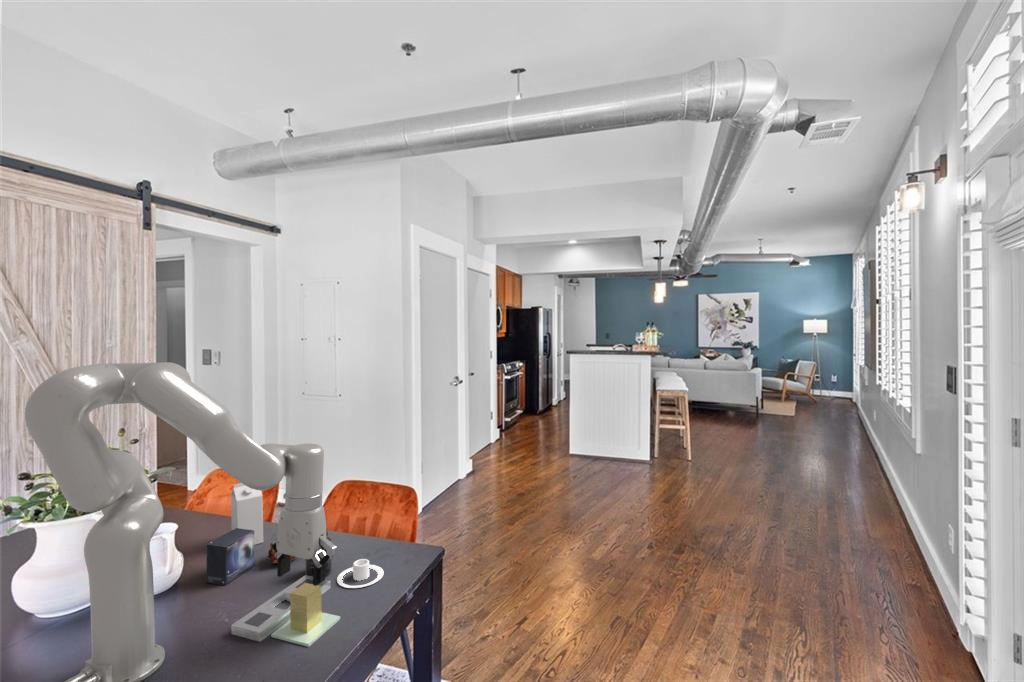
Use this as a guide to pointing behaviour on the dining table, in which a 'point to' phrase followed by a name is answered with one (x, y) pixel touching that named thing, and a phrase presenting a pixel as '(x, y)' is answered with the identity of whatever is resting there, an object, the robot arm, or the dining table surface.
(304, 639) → the pad
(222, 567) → the small box
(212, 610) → the dining table surface
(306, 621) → the yellow block
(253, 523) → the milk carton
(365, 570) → the candle holder
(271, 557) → the dragon fruit
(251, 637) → the rail
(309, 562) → the supplement bottle
